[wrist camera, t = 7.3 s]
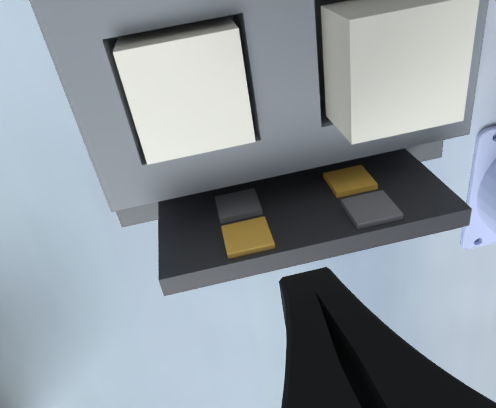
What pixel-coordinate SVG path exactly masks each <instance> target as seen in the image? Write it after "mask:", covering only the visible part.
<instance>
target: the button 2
mask: <svg viewBox="0 0 496 408" xmlns="http://www.w3.org/2000/svg"><path fill="white" fill-rule="evenodd" d="M478 7H479V0H348V1H343V2H338V3H332V4H327V5H322V6H321V24H322V44H323V63H324V83H325V103H326V116H327V117H328V119H329V120H330V121H331V122H332V123H333V124H334V125H335V126H336V128H337V129H338V130H339V131H340V132H341V133H342V134H343V135H344V137H345V138H346V139H347V140H348V141H349V142H350V143H351V145H353V144H357V143H362V142H367V141H371V140H376V139H381V138H385V137H390V136H395V135H399V134H404V133H409V132H413V131H418V130H423V129H427V128H432V127H437V126H441V125H446V124H451V123H455V122H460V121H463V120H464V112H465V105H466V97H467V90H468V82H469V75H470V67H471V60H472V52H473V45H474V37H475V30H476V22H477V15H478Z"/></svg>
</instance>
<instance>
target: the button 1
mask: <svg viewBox="0 0 496 408" xmlns="http://www.w3.org/2000/svg"><path fill="white" fill-rule="evenodd" d="M113 55H114V58H115V62H116V65H117V68H118V71H119V75H120V78H121V81H122V84H123V87H124V91H125V94H126V97H127V100H128V104H129V107H130V110H131V113H132V117H133V120H134V123H135V126H136V130H137V133H138V136H139V139H140V142H141V146H142V149H143V152H144V155H145V159H146V162H147V165H149V164H154V163H158V162H163V161H168V160H173V159H177V158H182V157H187V156H192V155H196V154H201V153H206V152H211V151H215V150H220V149H225V148H230V147H234V146H239V145H244V144H248V143H253V142H256V141H255V134H254V128H253V121H252V114H251V108H250V101H249V94H248V88H247V81H246V74H245V68H244V61H243V54H242V48H241V41H240V34H239V28H238V27H237V25H236V24H235V23H234V22H233V20H232V19H231V18H230V17H229V15H228V16H223V17H218V18H213V19H207V20H202V21H197V22H192V23H186V24H181V25H176V26H171V27H165V28H160V29H155V30H150V31H145V32H139V33H134V34H129V35H124V36H118V38H117V41H116V44H115V47H114V50H113Z"/></svg>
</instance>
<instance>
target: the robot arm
mask: <svg viewBox="0 0 496 408" xmlns="http://www.w3.org/2000/svg"><path fill="white" fill-rule="evenodd" d="M495 133H496V126H492V127H487V128H484V129H482V130H481V131H480V132H479V133H478V135H477V137H476V142H475V149H474V155H473V162H472V168H471V175H470V181H469V188H468V194H467V200H466V204H467V205H468V206H470V207H471V208H472V212H471V218H470V224H469V226H465V227H462V233H461V239H460V245H461V246H462V247H463V249H466V250H467V249H472V248H477V247H481V246H485V245H489V244H494V243H496V138H495V139H493V136H494V134H495ZM478 238H479V240H478V241H477V242H475V240H476V239H478ZM279 284H280V291H281V298H282V305H283V312H284V319H285V326H286V335H287V347H286V367H285V380H284V390H283V399H282V407H281V408H496V403H495V402H494V401H492V400H490V399H488V398H487V397H485V396H483V395H482V394H480V393H478V392H477V391H475V390H473V389H472V388H470V387H469V386H467V385H465V384H464V383H462V382H461V381H459V380H458V379H456V378H455V377H453V376H452V375H450V374H449V373H447V372H446V371H444V370H443V369H442V368H440V367H439V366H437V365H436V364H435V363H433V362H432V361H430V360H429V359H428V358H426V357H425V356H424V355H422V354H421V353H420V352H418V351H417V350H416V349H415V348H413V347H412V346H411V345H409V344H408V343H407V342H406V341H405V340H403V339H402V338H401V337H400V336H398V335H397V334H396V333H395V332H394V331H392V330H391V329H390V328H389V327H388V326H387V325H385V324H384V323H383V322H382V321H381V320H380V319H379V318H378V317H377V316H376V315H374V314H373V313H372V312H371V311H370V310H369V309H368V308H367V307H366V306H365V305H364V304H363V303H362V302H361V301H360V300H359V299H358V298H357V297H356V296H355V295H354V294H353V293H352V292H351V291H350V290H349V289H348V288H347V287H346V286H345V285H344V284H343V283H342V282H341V281H340V280H339V279H338V278H337V277H336V275H335V274H334V273H333V272H332V271H331V270H330V269H329V268H327V267H324V268H320V269H316V270H312V271H307V272H303V273H299V274H294V275H290V276H286V277H282V279H281V280H280V281H279Z"/></svg>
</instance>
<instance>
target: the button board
mask: <svg viewBox="0 0 496 408" xmlns="http://www.w3.org/2000/svg"><path fill="white" fill-rule="evenodd" d="M29 1H30V3H31V6H32V8H33V11H34V14H35V16H36V19H37V21H38V24H39V27H40V29H41V32H42V34H43V37H44V39H45V42H46V45H47V47H48V50H49V52H50V55H51V58H52V60H53V63H54V65H55V68H56V71H57V73H58V76H59V78H60V81H61V83H62V86H63V89H64V91H65V94H66V96H67V99H68V102H69V104H70V107H71V109H72V112H73V114H74V117H75V120H76V122H77V125H78V127H79V130H80V133H81V135H82V138H83V140H84V143H85V146H86V148H87V151H88V153H89V156H90V158H91V161H92V164H93V166H94V169H95V171H96V174H97V177H98V179H99V182H100V184H101V187H102V189H103V192H104V195H105V197H106V200H107V202H108V205H109V208H110V210H111V212H113V211H116V213H117V216H118V218H119V221H120V223H121V226H122V227H126V226H131V225H135V224H140V223H144V222H149V221H153V220H158V238H159V282H160V285H161V288H162V291H163V294H164V296H166V295H171V294H175V293H179V292H184V291H188V290H192V289H197V288H201V287H205V286H210V285H214V284H218V283H223V282H227V281H231V280H236V279H240V278H244V277H249V276H253V275H257V274H262V273H266V272H270V271H275V270H279V269H283V268H288V267H292V266H296V265H300V264H305V263H309V262H313V261H318V260H322V259H326V258H331V257H335V256H339V255H344V254H348V253H352V252H357V251H361V250H365V249H370V248H374V247H378V246H383V245H387V244H391V243H396V242H400V241H404V240H409V239H413V238H417V237H422V236H426V235H430V234H435V233H439V232H443V231H448V230H452V229H456V228H460V227H465V226H469V224H470V218H471V212H472V208H471V207H470V206H468V205H467V204H466V203H465V202H464V201H463V200H462V199H461V198H460V197H459V196H457V195H456V194H455V193H454V192H453V191H452V190H451V189H450V188H449V187H447V186H446V185H445V184H444V183H443V182H442V181H441V180H440V179H439V178H437V177H436V176H435V175H434V174H433V173H432V172H431V171H430V170H429V169H427V168H426V167H425V166H424V165H423V164H422V163H421V162H422V161H427V160H431V159H436V158H440V157H442V148H443V140H445V139H450V138H454V137H459V136H464V135H468V134H469V133H470V127H471V120H472V113H473V106H474V99H475V92H476V85H477V78H478V71H479V64H480V57H481V50H482V43H483V36H484V30H485V23H486V16H487V9H488V2H489V0H479V7H478V15H477V22H476V30H475V37H474V45H473V52H472V60H471V67H470V75H469V82H468V90H467V97H466V105H465V112H464V120H463V121H460V122H455V123H451V124H446V125H441V126H437V127H432V128H427V129H423V130H418V131H413V132H409V133H404V134H399V135H395V136H390V137H385V138H381V139H376V140H371V141H367V142H362V143H357V144H353V145H351V143H350V142H349V141H348V140H347V139H346V138H345V137H344V135H343V134H342V133H341V132H340V131H339V130H338V129H337V128H336V126H335V125H334V124H333V123H332V122H331V121H330V120H329V119H328V117H327V116H326V103H325V83H324V63H323V44H322V24H321V6H322V5H327V4H332V3H338V2H343V1H348V0H29ZM228 15H229V17H230V18H231V19H232V20H233V22H234V23H235V24H236V25H237V27H238V28H239V34H240V41H241V48H242V54H243V61H244V68H245V74H246V81H247V88H248V94H249V101H250V108H251V114H252V121H253V128H254V134H255V141H256V142H253V143H248V144H244V145H239V146H234V147H230V148H225V149H220V150H215V151H211V152H206V153H201V154H196V155H192V156H187V157H182V158H177V159H173V160H168V161H163V162H158V163H154V164H149V165H147V162H146V159H145V155H144V152H143V149H142V146H141V142H140V139H139V136H138V133H137V130H136V126H135V123H134V120H133V117H132V113H131V110H130V107H129V104H128V100H127V97H126V94H125V91H124V87H123V84H122V81H121V78H120V75H119V71H118V68H117V65H116V62H115V58H114V55H113V50H114V47H115V44H116V41H117V38H118V36H124V35H129V34H134V33H139V32H145V31H150V30H155V29H160V28H165V27H171V26H176V25H181V24H186V23H192V22H197V21H202V20H207V19H213V18H218V17H223V16H228Z"/></svg>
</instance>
